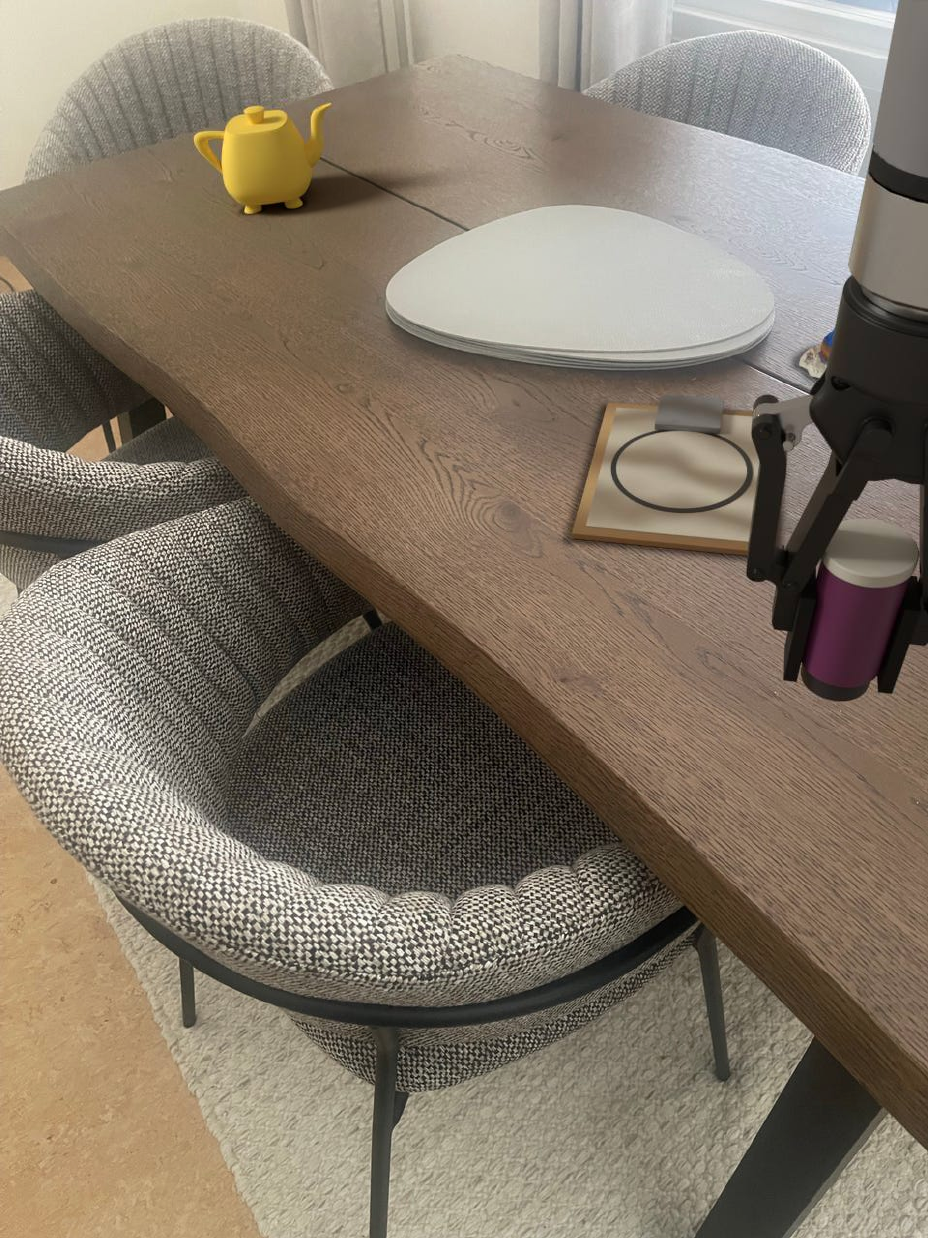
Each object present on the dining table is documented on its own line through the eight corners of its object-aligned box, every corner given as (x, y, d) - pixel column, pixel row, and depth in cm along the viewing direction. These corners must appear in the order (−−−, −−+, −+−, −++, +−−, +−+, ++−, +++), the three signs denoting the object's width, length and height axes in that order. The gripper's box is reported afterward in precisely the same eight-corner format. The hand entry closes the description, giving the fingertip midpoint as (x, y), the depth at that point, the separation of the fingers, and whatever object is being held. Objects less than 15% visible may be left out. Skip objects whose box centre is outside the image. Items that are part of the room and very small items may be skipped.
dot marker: (878, 713, 52) (923, 581, 45) (792, 701, 53) (823, 571, 46) (875, 653, 55) (916, 522, 48) (793, 644, 57) (822, 514, 50)
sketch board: (768, 558, 75) (771, 545, 74) (572, 538, 79) (571, 525, 78) (777, 414, 89) (779, 401, 88) (608, 403, 93) (609, 390, 92)
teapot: (346, 207, 133) (330, 113, 125) (208, 225, 133) (181, 132, 125) (346, 173, 143) (331, 83, 134) (216, 189, 143) (192, 101, 134)
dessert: (905, 355, 92) (892, 323, 88) (867, 412, 93) (853, 383, 88) (833, 335, 97) (818, 303, 93) (798, 389, 98) (781, 360, 93)
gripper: (1168, 244, 38) (994, 641, 54) (726, 238, 42) (688, 608, 59) (1222, 335, 33) (1012, 743, 49) (714, 317, 37) (676, 698, 54)
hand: (836, 669), depth 54 cm, fingers closed on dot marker, 4 cm apart
